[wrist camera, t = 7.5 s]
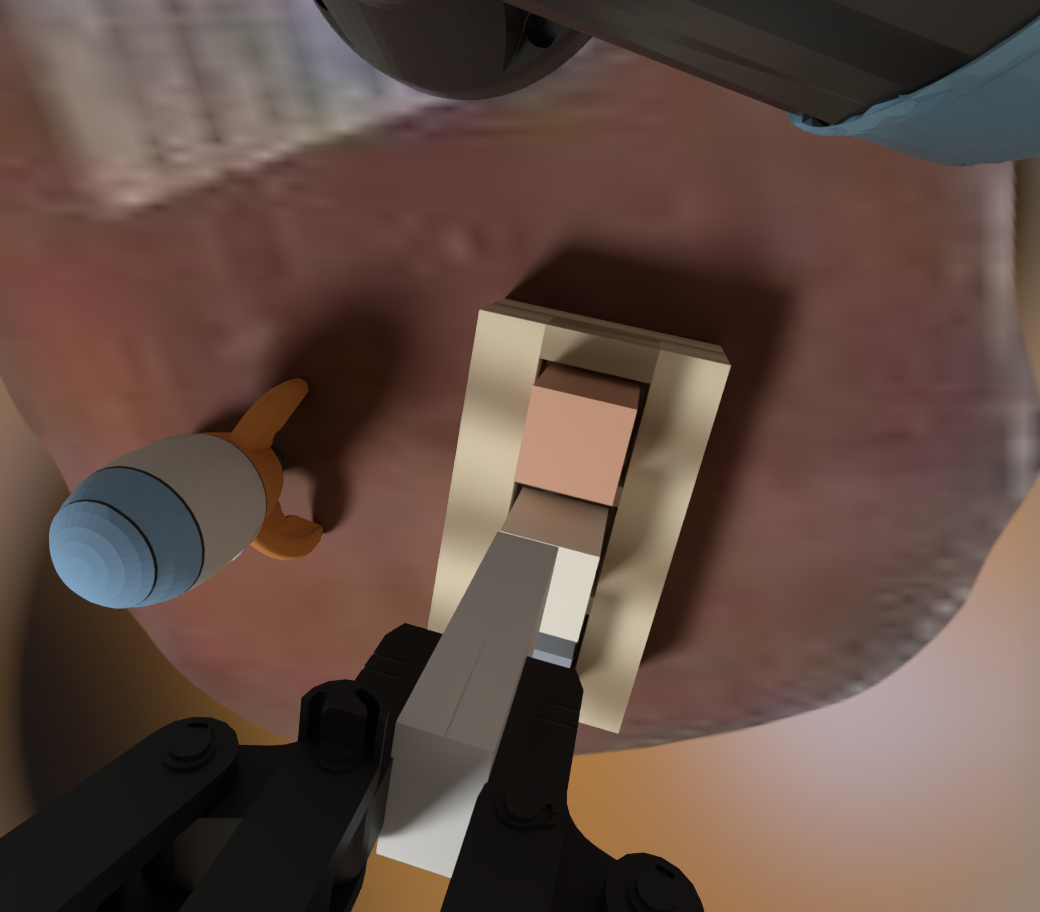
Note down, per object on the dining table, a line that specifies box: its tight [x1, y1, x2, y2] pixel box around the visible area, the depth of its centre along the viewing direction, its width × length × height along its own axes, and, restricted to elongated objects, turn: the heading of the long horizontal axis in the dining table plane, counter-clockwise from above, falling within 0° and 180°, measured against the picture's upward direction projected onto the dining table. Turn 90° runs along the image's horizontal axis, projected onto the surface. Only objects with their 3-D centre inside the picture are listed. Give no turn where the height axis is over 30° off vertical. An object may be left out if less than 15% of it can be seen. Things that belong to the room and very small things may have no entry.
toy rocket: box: [49, 378, 323, 608], centre depth 34 cm, size 10×11×15 cm
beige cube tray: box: [428, 298, 731, 733], centre depth 34 cm, size 20×11×5 cm, turn 169°
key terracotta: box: [514, 362, 641, 506], centre depth 29 cm, size 4×4×5 cm
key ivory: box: [500, 487, 609, 642], centre depth 30 cm, size 4×4×5 cm
